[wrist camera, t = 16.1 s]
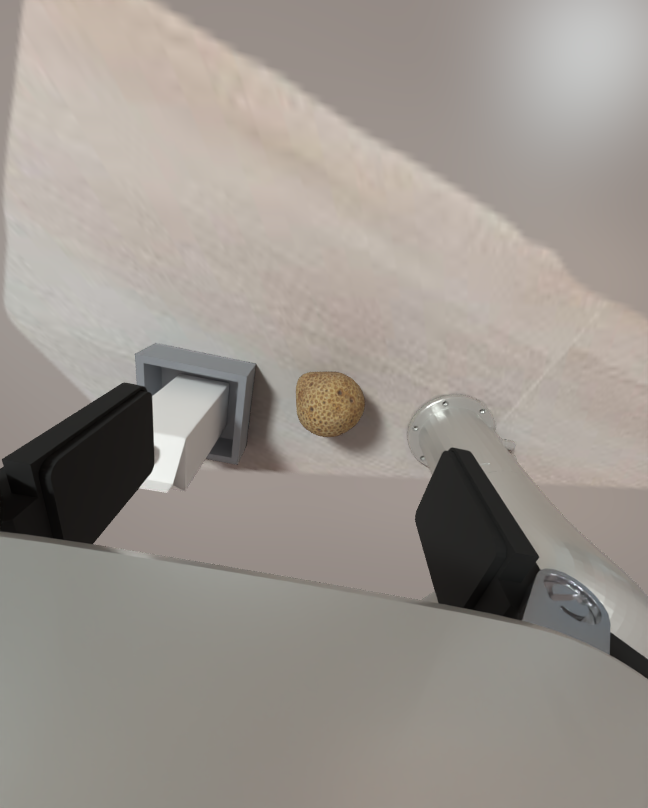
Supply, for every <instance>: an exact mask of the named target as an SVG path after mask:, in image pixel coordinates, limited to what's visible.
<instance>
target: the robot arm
mask: <svg viewBox="0 0 648 808" xmlns="http://www.w3.org/2000/svg"><path fill="white" fill-rule="evenodd" d="M444 401H445V402H444ZM443 402H444V403H443ZM414 426H415V427H414ZM495 429H496V427H495V421H494V418H493V415H492V414H491V412H490V411H489V409H488V408H487V407H486V406H485V405H484V404H483V403H481V402H480V401H478V400H477V399H475V398H472V397H470V396H465V395H447V396H443V397H440V398H436V399H434V400H432V401H430V402H428V403H427V404H426V405H424V406H423V407H421V409H420V410H419V411H418V412H417V413H416V414H415V415H414V417H413V418H412V420H411V422H410V424H409V427H408V432H407V440H408V444H409V447H410V450H411V452H412V454H413V455H414V457H415V458H416V459H417V460H418V461H419V462H421V463H422V464H424V465H426V466H428V467H429V469H430V471H431V474H432V477H431V479H430V482H429V484H428V486H427V488H426V491H425V493H424V495H423V497H422V500H421V502H420V504H419V506H418V509H417V511H416V515H415V522H416V526H417V529H418V533H419V536H420V540H421V543H422V547H423V551H424V554H425V558H426V561H427V565H428V568H429V571H430V575H431V579H432V582H433V586H434V589H435V592H433V593H431V594H429V595H428V596H426V597H425V598H423V599H422V600H417V599H412V598H406V597H400V596H395V595H389V594H383V593H378V592H372V591H366V590H361V589H355V588H349V587H344V586H338V585H332V584H327V583H321V582H315V581H309V580H303V579H297V578H291V577H285V576H280V575H274V574H267V573H262V572H257V571H251V570H244V569H239V568H233V567H227V566H221V565H215V564H209V563H203V562H197V561H191V560H185V559H179V558H173V557H166V556H161V555H155V554H149V553H143V552H136V551H131V550H124V549H118V548H112V547H106V546H100V545H94V544H93V543H94V542H95V541H96V539H97V538H98V537H99V536H100V535H101V533H102V532H103V531H104V530H105V528H106V527H107V526H108V525H109V524H110V523H111V521H112V520H113V519H114V518H115V516H116V515H117V514H118V513H119V512H120V510H121V509H122V508H123V507H124V505H125V504H126V503H127V502H128V500H129V499H130V498H131V497H132V496H133V495H134V493H135V492H136V491H137V490H138V489H139V487H140V486H141V485H142V484H143V483H144V481H145V480H146V479H147V478H148V476H149V475H150V474H151V472H152V470H153V468H154V463H155V460H154V431H153V403H152V394H151V393H150V392H147V389H146V387H144V386H140V385H135V384H130V383H122V384H120V385H119V386H117V387H116V388H114V389H112V390H111V391H109V392H108V393H106V394H104V395H103V396H101V397H100V398H98V399H97V400H95V401H93V402H92V403H90V404H89V405H87V406H86V407H84V408H82V409H81V410H79V411H78V412H76V413H74V414H73V415H71V416H70V417H68V418H67V419H65V420H64V421H62V422H60V423H59V424H57V425H55V426H54V427H52V428H51V429H49V430H48V431H46V432H44V433H43V434H41V435H40V436H38V437H36V438H35V439H33V440H32V441H30V442H29V443H27V444H25V445H24V446H22V447H21V448H19V449H18V450H16V451H14V452H13V453H11V454H10V455H8V456H6V457H5V458H3V459H2V462H3V465H4V467H2V468H1V469H0V808H648V596H647V595H646V594H645V593H644V591H643V590H642V589H641V588H640V587H639V586H638V585H637V583H636V582H635V581H633V580H632V578H630V576H628V575H627V574H626V573H625V572H624V571H623V570H622V569H621V568H620V567H619V566H618V565H617V564H615V563H614V562H613V561H612V560H611V559H610V558H609V557H608V556H606V555H605V554H604V553H603V552H602V551H601V550H600V549H599V548H597V547H596V546H595V545H594V544H593V543H592V542H591V541H590V540H588V539H587V538H586V537H585V536H584V535H583V534H582V533H581V532H580V531H578V530H577V528H575V527H574V526H573V525H572V524H571V523H570V522H569V521H568V520H567V519H566V518H565V517H564V515H563V514H562V513H561V512H560V511H559V510H558V509H557V508H556V507H555V505H554V504H553V503H552V502H551V501H550V500H549V499H548V498H547V497H546V495H545V494H544V493H543V492H542V491H541V490H540V488H539V487H538V486H537V485H536V483H535V482H534V481H533V480H532V479H531V478H530V476H529V475H528V474H527V473H526V472H525V470H524V469H523V468H522V467H521V466H520V464H519V463H518V462H517V458H516V456H515V455H512V454H510V453H509V451H508V450H514V449H515V446H516V445H515V442H514V441H511V440H506V439H501V438H500V436H499V435H498V434H497V433H496V432H495Z"/></svg>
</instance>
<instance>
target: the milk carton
mask: <svg viewBox="0 0 648 808" xmlns="http://www.w3.org/2000/svg"><path fill="white" fill-rule="evenodd" d="M228 396H229V383H226V382H221V381H215V380H210V379H205V378H200V377H195V376H189V375H184V374H180V375H178V376H177V377H176V378H174V379H173V380H172V381H171V382H169V383H168V384H167V385H166V386H164V387H163V388H162V389H161V390H159V391H158V392H157V393H156V394H154V395H153V396H152V403H153V431H154V460H155V463H154V468H153V470H152V472H151V474H150V475H149V476H148V478H147V479H146V480H145V481H144V483H143V484H142V485H141V486H140V487H139V488H142V489H148V490H153V491H159V492H165V493H168V492H169V490H170V489H174V490H179V491H186V489H187V488H188V486H189V484H190V483H191V481H192V480H193V478H194V476H195V475H196V473H197V472H198V470H199V468H200V467H201V465H202V464H203V462H204V460H205V459H206V457H207V456H208V454H209V452H210V451H211V449H212V448H213V446H214V444H215V443H216V441H217V440H218V438H219V436H220V435H221V433H222V432H223V430H224V428H225V427H226V424H227V410H228Z"/></svg>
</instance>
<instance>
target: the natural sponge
mask: <svg viewBox="0 0 648 808" xmlns="http://www.w3.org/2000/svg"><path fill="white" fill-rule="evenodd" d="M296 406H297V415H298V418H299V420H300V422H301V424H302V425H303V426H304V428H306V429H307V430H308V431H310V432H311V433H313V434H316V435H318V436H323V437H334V436H339V435H341V434H343V433H345V432H347V431H348V430H350V429H351V428H353V427H354V426H355V425H356V424H357V422H358V421H359V420H360V418H361V416H362V414H363V411H364V407H365V400H364V396H363V393H362V391H361V389H360V387H359V385H358V384H357V383H356V382H355V381H354V380H353V379H351V378H350V377H348V376H346V375H344V374H342V373H339V372H309V373H306V374H303V375H302V376H301V377H300V378H299V379H298V382H297V386H296Z"/></svg>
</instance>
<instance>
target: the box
mask: <svg viewBox="0 0 648 808" xmlns="http://www.w3.org/2000/svg"><path fill="white" fill-rule="evenodd" d="M135 362H136V379H137V385H140V386H144V387H146V389H147V392H150V393H151V394H152V396H153V395H154V394H156V393H157V392H158V391H159V390H161V389H162V388H163V387H164V386H166V385H167V384H168V383H169V382H171V381H172V380H173V379H174V378H176V377H177V376H178V375H180V374H184V375H189V376H195V377H200V378H205V379H210V380H215V381H221V382H226V383H229V396H228V410H227V424H226V427H225V428H224V430H223V432H222V433H221V435H220V436H219V438H218V440H217V441H216V443H215V444H214V446H213V448H212V449H211V451H210V452H209V454H208V456H207V457H206V459H210V460H215V461H221V462H226V463H231V464H236V465H238V463H239V461H240V458H241V456H242V454H243V452H244V450H245V448H246V445H247V436H248V427H249V419H250V410H251V402H252V393H253V384H254V376H255V367H256V364H255V363H250V362H245V361H240V360H235V359H231V358H226V357H221V356H216V355H211V354H206V353H201V352H196V351H192V350H187V349H182V348H177V347H172V346H167V345H162V344H157V343H155V344H153V345H151V346H149V347H147V348H145V349H143V350H141V351H140V352H138V353H136V354H135Z"/></svg>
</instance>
